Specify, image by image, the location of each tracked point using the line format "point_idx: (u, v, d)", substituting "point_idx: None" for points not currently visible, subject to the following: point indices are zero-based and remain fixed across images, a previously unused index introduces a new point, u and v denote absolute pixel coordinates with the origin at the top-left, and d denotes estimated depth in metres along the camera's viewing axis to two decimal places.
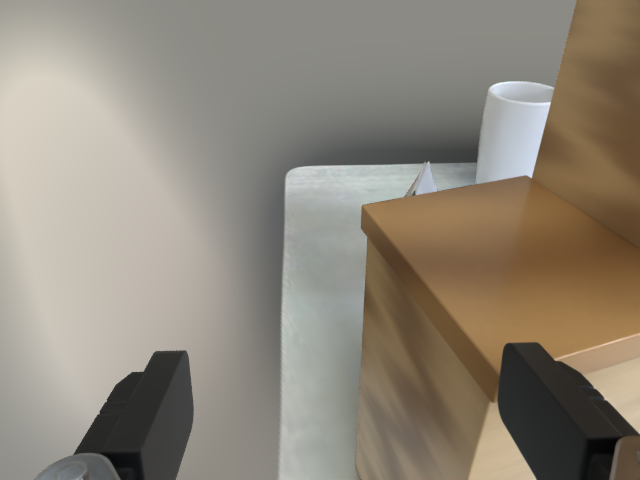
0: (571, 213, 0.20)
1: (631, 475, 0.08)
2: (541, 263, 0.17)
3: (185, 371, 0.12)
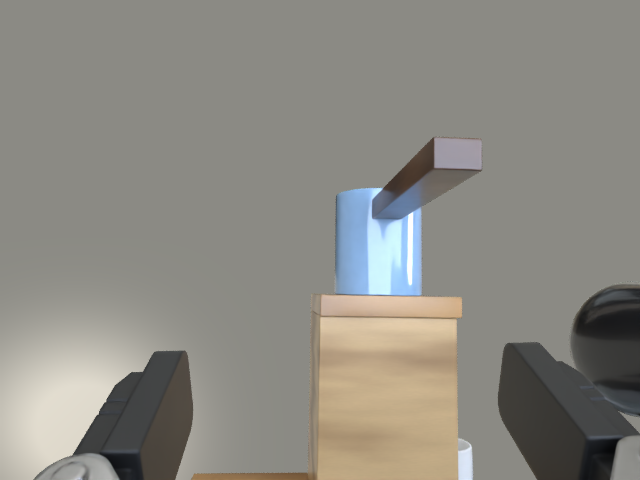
0: None
1: (632, 475, 0.08)
2: None
3: (184, 371, 0.12)
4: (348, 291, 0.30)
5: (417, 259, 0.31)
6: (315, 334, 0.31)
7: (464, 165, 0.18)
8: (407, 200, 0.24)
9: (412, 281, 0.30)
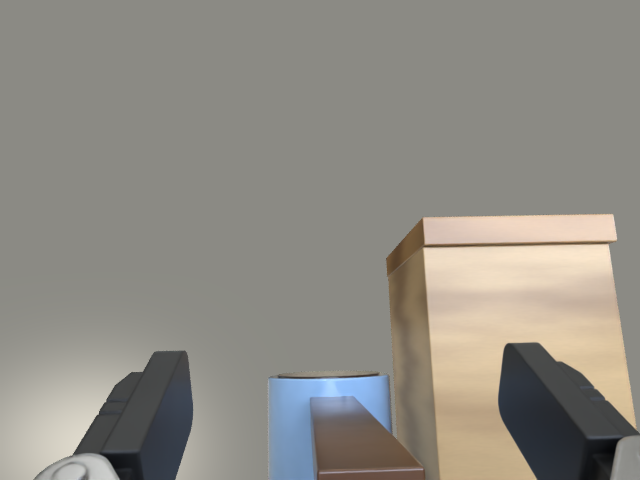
0: None
1: (632, 476, 0.08)
2: None
3: (184, 371, 0.12)
4: None
5: None
6: (408, 287, 0.24)
7: None
8: None
9: None
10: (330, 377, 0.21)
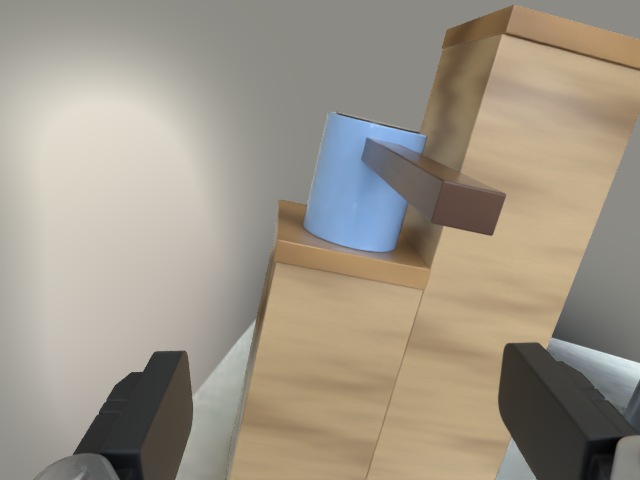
0: None
1: (632, 475, 0.08)
2: None
3: (184, 371, 0.12)
4: (316, 233, 0.27)
5: (401, 213, 0.27)
6: (467, 66, 0.26)
7: (472, 225, 0.13)
8: None
9: (388, 237, 0.27)
10: (386, 125, 0.25)
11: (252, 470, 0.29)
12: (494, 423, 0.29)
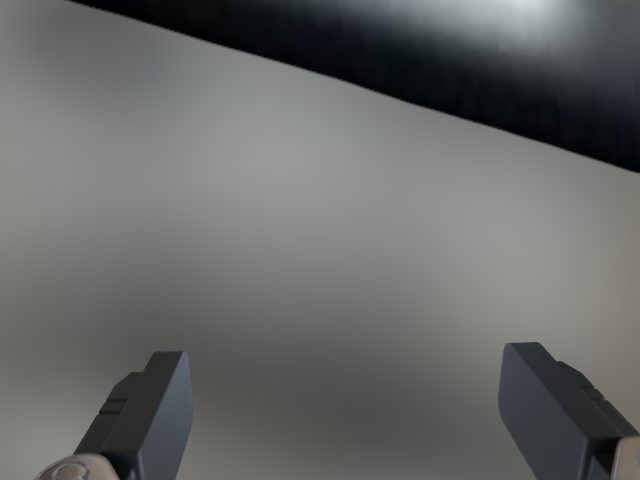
0: None
1: (632, 475, 0.08)
2: None
3: (184, 371, 0.12)
4: None
5: None
6: None
7: None
8: None
9: None
10: None
11: None
12: None
